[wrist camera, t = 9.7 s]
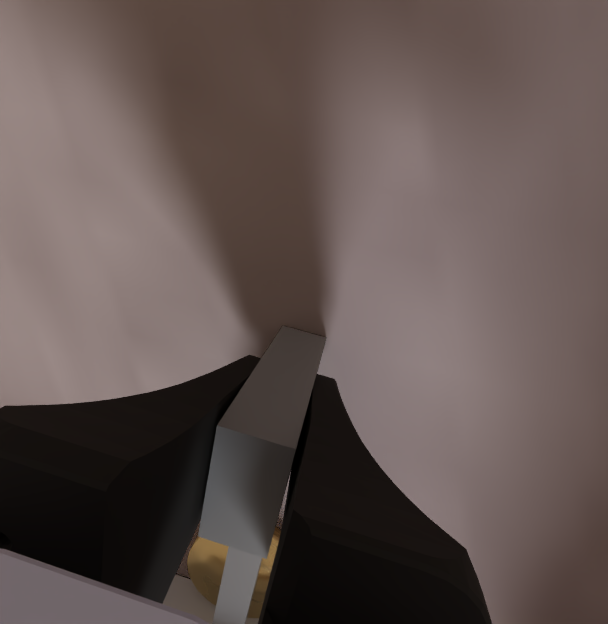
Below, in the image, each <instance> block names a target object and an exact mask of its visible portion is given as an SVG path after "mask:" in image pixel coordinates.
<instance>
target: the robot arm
mask: <svg viewBox="0 0 608 624" xmlns="http://www.w3.org/2000/svg"><path fill="white" fill-rule="evenodd" d="M260 360H261V358H258V357H255V356H251V355H248V356H246V357H244V358H241V359H239V360H237V361H235V362H233V363H231V364H229V365H226V366H224V367H222V368H220V369H217V370H215V371H213V372H211V373H208V374H205V375H203V376H200V377H198V378H195V379H192V380H190V381H187V382H184V383H181V384H178V385H175V386H172V387H168V388H164V389H161V390H157V391H153V392H149V393H144V394H138V395H133V396H128V397H122V398H117V399H110V400H102V401H94V402H84V403H73V404H59V405H27V406H4V407H2V408H0V624H210V623H208V622H206V621H204V620H203V619H201V618H199V617H197V616H195V615H192V614H189V613H186V612H184V611H181V610H178V609H175V608H172V607H169V606H166V605H164V604H163V601H164V599H165V597H166V595H167V592H168V590H169V588H170V585H171V583H172V581H173V579H174V576H175V574H176V572H177V570H178V568H179V565H180V563H181V561H182V559H183V556H184V554H185V552H186V550H187V547H188V545H189V543H190V541H191V539H192V537H193V534H194V532H195V530H196V528H197V526H198V524H199V521H200V519H201V516H202V510H203V504H204V498H205V493H206V487H207V481H208V475H209V469H210V463H211V458H212V452H213V446H214V440H215V434H216V428H217V425H218V423H219V422H220V420H221V419H222V417H223V416H224V414H225V413H226V411H227V410H228V408H229V407H230V405H231V403H232V402H233V400H234V399H235V397H236V396H237V394H238V393H239V391H240V390H241V388H242V387H243V385H244V384H245V382H246V381H247V379H248V378H249V376H250V375H251V373H252V372H253V370H254V369H255V367H256V366H257V364H258V363H259V361H260ZM258 624H492V622H491V619H490V615H489V612H488V609H487V605H486V602H485V599H484V595H483V592H482V589H481V586H480V583H479V581H478V578H477V575H476V573H475V570H474V568H473V565H472V563H471V560H470V558H469V555H468V552H467V550H466V549H465V548H464V547H463V546H462V545H461V544H459V543H458V542H457V541H456V540H455V539H453V538H452V537H451V536H450V535H449V534H447V533H446V532H445V531H444V530H443V529H441V528H440V527H439V526H438V525H437V524H435V523H434V522H433V521H432V520H430V519H429V518H428V517H427V516H426V515H425V514H424V513H423V512H422V511H421V510H420V509H419V508H418V507H417V506H416V505H414V504H413V503H412V502H411V501H410V500H409V499H408V498H407V497H406V496H405V495H404V494H403V493H402V491H401V490H400V489H399V488H398V487H397V486H396V485H395V484H394V483H393V482H392V480H391V479H390V478H389V477H388V476H387V475H386V473H385V472H384V471H383V470H382V469H381V468H380V466H379V465H378V464H377V462H376V461H375V460H374V458H373V457H372V456H371V454H370V453H369V451H368V450H367V448H366V447H365V445H364V444H363V442H362V441H361V439H360V437H359V435H358V434H357V432H356V430H355V428H354V426H353V424H352V422H351V420H350V418H349V416H348V413H347V411H346V409H345V407H344V404H343V402H342V399H341V396H340V393H339V390H338V386H337V383H336V381H335V379H333V378H329V377H326V376H322V375H319V374H316V378H315V381H314V385H313V389H312V392H311V396H310V400H309V404H308V407H307V411H306V415H305V419H304V423H303V426H302V430H301V434H300V438H299V441H298V445H297V449H296V453H295V457H294V460H293V464H292V468H291V474H290V480H289V487H288V493H287V499H286V505H285V511H284V518H283V524H282V528H281V533H280V538H279V542H278V546H277V550H276V554H275V558H274V562H273V566H272V570H271V574H270V578H269V582H268V586H267V590H266V594H265V597H264V601H263V605H262V609H261V613H260V617H259V621H258Z"/></svg>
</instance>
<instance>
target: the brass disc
mask: <svg viewBox="0 0 608 624" xmlns="http://www.w3.org/2000/svg"><path fill="white" fill-rule="evenodd" d="M280 533H281V530H280V529H278V528H277V527H275V531H274V534H273V538H272V542H271V545H270V549H269V553H268V556H267V559H265V558H262V562H261V566H260V570H259V573H258V577H257V581H256V585H255V589H254V593H253V597H252V601H251V604H250V608H249V612H248V616H247V618H259V617H260V613H261V609H262V605H263V601H264V597H265V594H266V590H267V586H268V582H269V578H270V574H271V570H272V566H273V562H274V558H275V554H276V550H277V546H278V542H279V538H280ZM228 547H229V546H226V545H223V544H220V543H216V542H213V541H210V540H207V539H204V538H201V537H198V536H197V538H196V540H195V542H194V544H193V546H192V548H191V550H190V552H189V555H188V560H187V567H188V572H189V576H190V578H191V580H192V582H193V584H194V586H195V587H196V588H197V590H198V591H199V592H200V593H201V594H202V595H203V596H204V597H205V598H206V599H207V600H208V601H209V602H211V603H212V604H214V605H215V606H216V604H217V599H218V594H219V590H220V585H221V580H222V576H223V571H224V566H225V561H226V557H227V552H228Z"/></svg>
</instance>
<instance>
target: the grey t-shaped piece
mask: <svg viewBox="0 0 608 624" xmlns="http://www.w3.org/2000/svg"><path fill="white" fill-rule="evenodd" d="M325 341H326V337H323V336H319V335H315V334H312V333H308V332H304V331H301V330H297V329H293V328H290V327H286V326H282V328H281V329H280V331H279V332H278V334H277V335H276V337H275V338H274V340H273V341H272V343H271V344H270V346H269V347H268V349H267V350H266V352H265V353H264V355H263V356H262V358H261V360H260V361H259V363H258V364H257V366H256V367H255V369H254V370H253V372H252V373H251V375H250V376H249V378H248V379H247V381H246V382H245V384H244V385H243V387H242V388H241V390H240V391H239V393H238V394H237V396H236V397H235V399H234V400H233V402H232V403H231V405H230V407H229V408H228V410H227V411H226V413H225V414H224V416H223V417H222V419H221V420H220V422H219V423H218V425H217V428H216V434H215V440H214V446H213V452H212V458H211V463H210V469H209V475H208V481H207V487H206V493H205V498H204V504H203V510H202V516H201V522H200V528H199V533H198V537H201V538H204V539H207V540H210V541H213V542H216V543H220V544H223V545H226V546H229V547H228V552H227V557H226V561H225V566H224V571H223V576H222V580H221V585H220V590H219V594H218V599H217V604H216V606H215V605H214V604H212V603H211V602H209V601H208V600H207V599H206V598H205V597H204V596H203V595H202V594H201V593H200V592H199V591H198V590H197V588H196V587H195V586H194V584H193V582H192V580H191V579H188V578H185V577H182V576H179V575H176V574H175V576H174V579H173V581H172V583H171V585H170V588H169V590H168V592H167V595H166V597H165V599H164V601H163V604H164V605H166V606H169V607H172V608H175V609H178V610H181V611H184V612H186V613H189V614H192V615H195V616H197V617H199V618H201V619H203V620H204V621H206V622H208V623H210V624H258V621H259V618H247V616H248V612H249V608H250V604H251V601H252V597H253V593H254V589H255V585H256V581H257V577H258V573H259V570H260V566H261V562H262V558H265V559H267V556H268V553H269V549H270V545H271V542H272V538H273V534H274V531H275V527H276V523H277V520H278V516H279V512H280V508H281V505H282V501H283V497H284V494H285V490H286V486H287V483H288V479H289V475H290V472H291V468H292V464H293V460H294V457H295V453H296V449H297V445H298V441H299V438H300V434H301V430H302V426H303V423H304V419H305V415H306V411H307V407H308V404H309V400H310V396H311V392H312V389H313V385H314V381H315V378H316V374H317V371H318V368H319V364H320V360H321V356H322V353H323V349H324V345H325Z"/></svg>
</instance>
